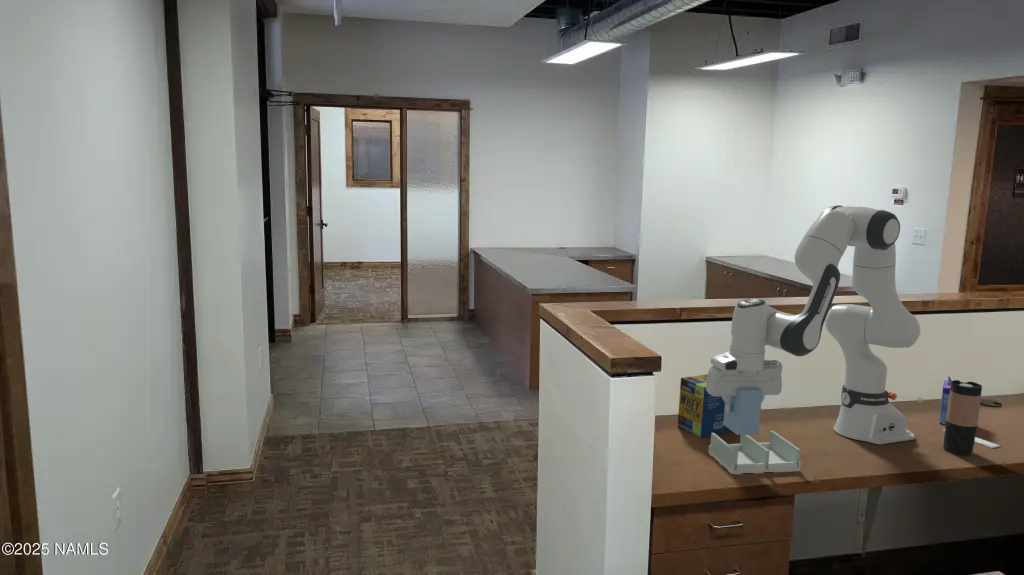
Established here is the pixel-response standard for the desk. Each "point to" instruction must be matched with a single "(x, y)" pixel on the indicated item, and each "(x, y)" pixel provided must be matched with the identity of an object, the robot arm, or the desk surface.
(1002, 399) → the desk surface
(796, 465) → the slot rack
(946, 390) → the ink cartridge box
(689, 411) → the protein box
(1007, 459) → the desk surface
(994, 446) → the flat white bar
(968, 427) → the travel mug
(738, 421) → the blue block
